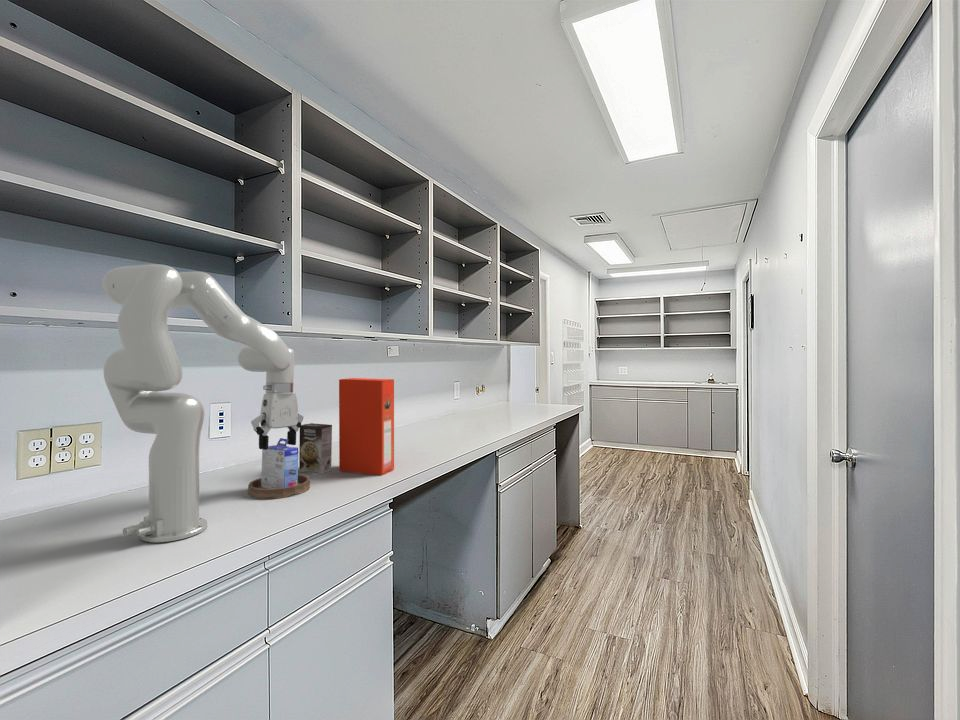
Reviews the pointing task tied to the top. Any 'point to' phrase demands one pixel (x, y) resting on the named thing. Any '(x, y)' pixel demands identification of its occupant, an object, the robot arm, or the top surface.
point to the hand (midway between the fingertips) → (277, 446)
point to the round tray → (264, 493)
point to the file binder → (366, 425)
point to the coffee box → (315, 448)
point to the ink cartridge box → (279, 466)
